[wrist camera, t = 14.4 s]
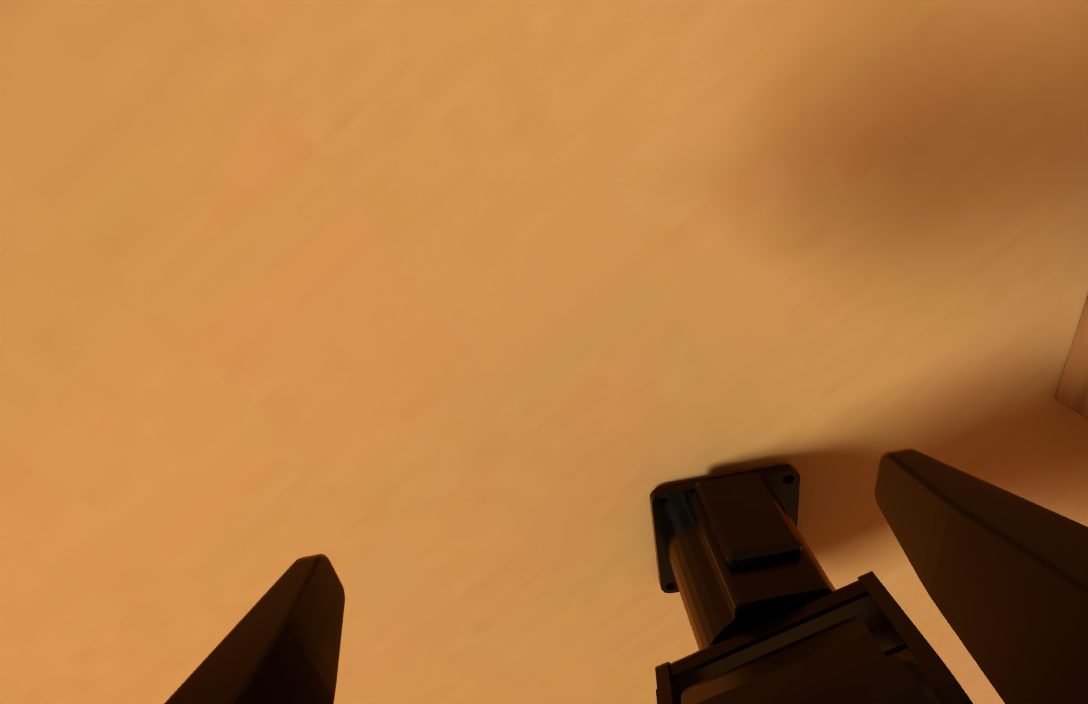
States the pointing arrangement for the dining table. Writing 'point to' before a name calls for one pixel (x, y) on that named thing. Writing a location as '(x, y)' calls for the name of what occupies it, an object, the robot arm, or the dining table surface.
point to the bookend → (1077, 370)
